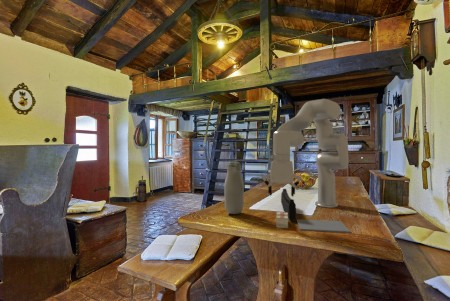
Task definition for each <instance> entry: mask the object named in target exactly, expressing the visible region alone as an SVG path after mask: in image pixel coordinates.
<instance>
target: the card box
mask: <svg viewBox="0 0 450 301" xmlns="http://www.w3.org/2000/svg"><path fill="white" fill-rule="evenodd" d="M275 217H276V218H275V219H276V220H275V222H276V223H275V225H276V226H275V228H278V229H279V228H280V229H288V228H289V218H288V213H285V212H284V211H276V216H275Z"/></svg>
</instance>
